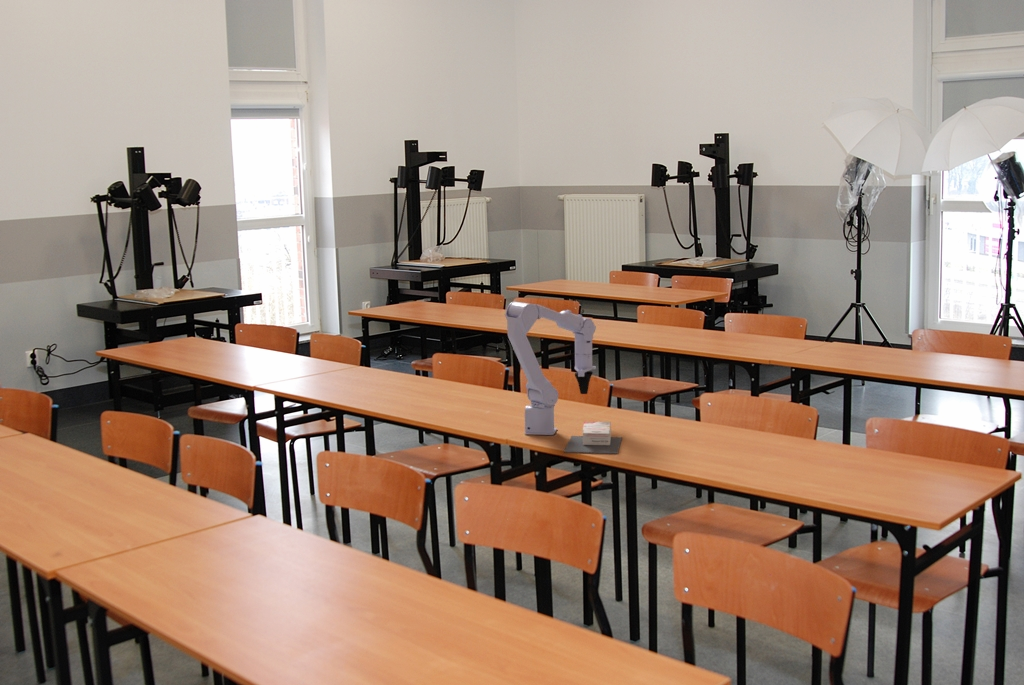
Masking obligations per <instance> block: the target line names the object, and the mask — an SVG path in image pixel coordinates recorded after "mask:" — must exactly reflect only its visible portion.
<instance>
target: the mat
mask: <svg viewBox="0 0 1024 685" xmlns="http://www.w3.org/2000/svg"><path fill="white" fill-rule="evenodd" d="M622 440H623V437H621V436H611V441H610V445H583V435H571V436H570V438H569V441H568V442H567V445H566V446H565V449H564V450H563V454H564V453H566V454H567V453H569V454H595V455H597V454H600V455H618V454H619V450H620V447H621V442H622Z"/></svg>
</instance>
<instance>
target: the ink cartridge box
mask: <svg viewBox="0 0 1024 685" xmlns="http://www.w3.org/2000/svg"><path fill="white" fill-rule="evenodd" d="M611 430H612V423H611V421H583V426H582V436H583V445H610V441H611V437H612V436H611V434H612V433H611V432H612V431H611Z"/></svg>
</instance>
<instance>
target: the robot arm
mask: <svg viewBox="0 0 1024 685" xmlns="http://www.w3.org/2000/svg"><path fill="white" fill-rule="evenodd" d="M572 312H573V311H572V310H570V309H566V310H561V311H559V312H558V311H557V310H554V309H551V308H549V307H546V306H544V305H541V304H535V303H527V302H520V301H516V300H515V301H514V300H513V301H512V302H510V303H509V304H508V305H507V307H506V310H505V313H504V316H505V318H506V322H507V323H506V324H507V325H506V326H507V332H506V333H507V338H508V339H509V342H510V343H511V346H512V349H513V351H514V354H515V356H516V357H517V359H518V362H519V365H520V367H521V369H522V371H523V374H524V375H525V378H526V381H527V382H526V384H525V388H526V395H527V399H528V400H529V402H530V405H528V404H527V405H525V408H524V435H536V436H537V435H539V436H541V435H543V436H554V435H555V433H556V432H557V430H558V427H555V406H556V404H557V402H558V400H559V392H558V389H556V388H555V387H554V386H553V384H552V382H551V381H550V380H549V379H548V378H546V377H545V375H544V373H543V370H542V368H541V366H540V364H539V361H538V359H537V357H536V355H535V353H534V350H533V348H532V345H531V343H530V341H529V339H528V337H527V334H528V333H529V331H530V330H531V329H532V327H533V326H534V324H535V323H536V321H537V320H541V318H542V319H546V320H548V321H552V322H555V324H556V325H557V328H560V329H563V330H566V331H569V332H572V334H574V370H575V371H576V372H575V373H574V376H575V378H576V381H577V384H578V388H579V393H580V395H587V394H588V392H589V386H590V381H591V379H592V378H591V377H592V375H593V371H592V370H596V369H597V367H596V365H593V339H594V333H595V332H596V330H597V326H596V325H595V322H594V321H593V320H592V319H591V318H587V317H583V315H582V314H579V313H578V314H577V313H576V314H575V313H572Z"/></svg>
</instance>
